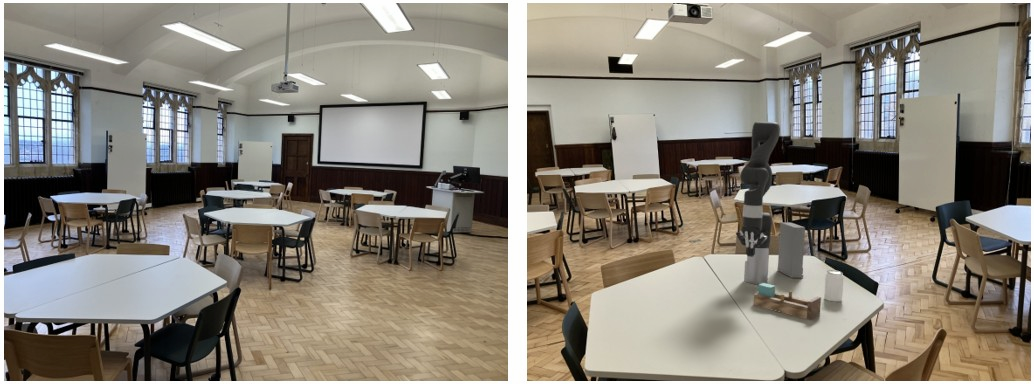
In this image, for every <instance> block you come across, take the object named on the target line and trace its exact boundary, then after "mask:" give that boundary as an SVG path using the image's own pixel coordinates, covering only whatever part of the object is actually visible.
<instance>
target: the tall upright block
mask: <svg viewBox="0 0 1034 384" xmlns="http://www.w3.org/2000/svg"><path fill="white" fill-rule="evenodd" d="M779 225H780V226H779V239H778V240H779V242H778V243H779V244H778V257H777V259H778V260H777V267H776V268H777V272H781V273H783V274H784V275H786V276H787V277H789V278H791V279H793V278H794V279H795V278H798V279H799V278H800V279H802V278H804V275H803V273H804V266H803V265H804V251H805V250H804V249H805V235H806V234H805V233H806V227H805V226H802V225H799V224H796V223H793V222H781V221H780V224H779Z"/></svg>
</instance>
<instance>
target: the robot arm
mask: <svg viewBox="0 0 1034 384" xmlns="http://www.w3.org/2000/svg"><path fill="white" fill-rule="evenodd" d="M780 133H781V127H780V124H779V123H778V122H775V121H755V122H754V123H753V124H752V130H751V155H750V159H749V161H748V162H747V164H746V165H745V166H744V167H743V168H742V170H741V172H740V174H739V175H740V176H739V177H740V181H741V182H742V183H743V184H745V185H748V190H746V191H744V195H743V197H744V198H743V206H742V207H743V208H742V222H741V223H742V224H741V225H742V227H741V229H740V231H736V232H735V235H736V237H737V238H738V240H739V241H740V244H741V245H742V246H745V248H746V249H745V255H746V260H745V261H744V274H743V275H744V276H743V281H744V282H747V283H749V284H753V285H759V284H762V283H766V284H768V279H769V278H768V276H769V258H770V243H771V233H772V225H773V220H772V219H773V218H772V215H771V214H770V213H769V212H764V211H763V210H764V209H763V202H764V200H763V198H764V196H765V195H766V194H767V193H768V191H769V190H770V188H771V186H772V178H773V171H772V167H771V165H770V164H769V159H770V156H771V154H772V152H773V151H774V148H775V147H776V145H777V143H778V140H779V138H780ZM761 143H762V144H761Z"/></svg>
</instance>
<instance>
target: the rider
mask: <svg viewBox="0 0 1034 384" xmlns="http://www.w3.org/2000/svg"><path fill="white" fill-rule="evenodd" d="M757 285H758V287H757V289H758V290H757V294H761V295H765V296H769V297H773V298H775V293H776V285H773V284H769V283H767V284H766V283H762V284H757Z"/></svg>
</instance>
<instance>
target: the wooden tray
mask: <svg viewBox="0 0 1034 384" xmlns="http://www.w3.org/2000/svg"><path fill="white" fill-rule="evenodd" d="M821 301H822V297H821V296H816V297H814V298H812V299H810V300H807V299H804V298H799V297H796V296H795V297H794V296H793V291H792V290H788V295H787V294H782V293H780V292H775V298H773V297H769V296H765V295H761V294H758V292H757V293H754V294H753V302H752V304H753V306H755V305H756V307H760V308H763V307H764V308H763V309H767V310H770V309H772V310H771V311H774V310H776V311H775V312H778V311H780V312H779V313H782V312H783V313H782V314H785V313H786V314H787V315H790V316H794V317H797V318H801V319H805V320H808V321H811V320H813V319H814V318H817V317H818V316H820V315H821V305H822V302H821ZM786 314H785V315H786Z"/></svg>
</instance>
